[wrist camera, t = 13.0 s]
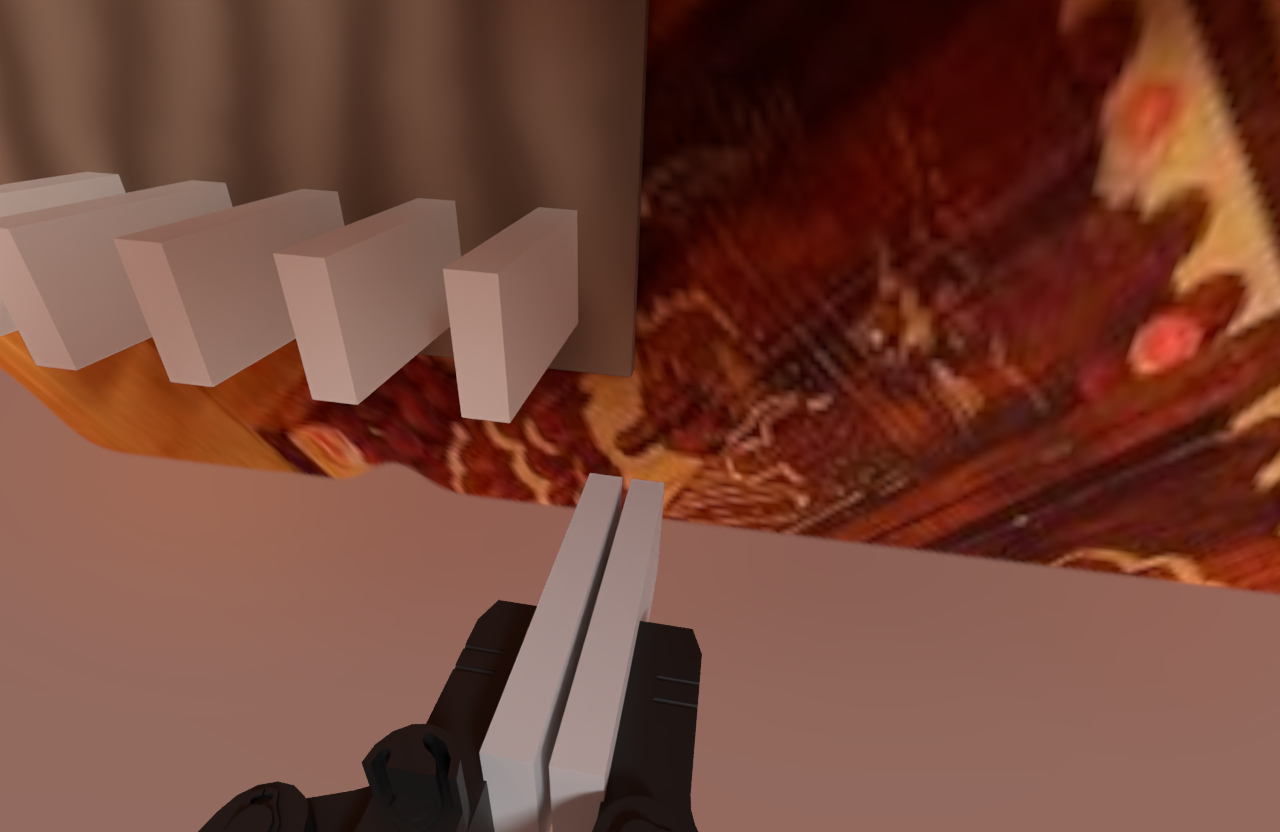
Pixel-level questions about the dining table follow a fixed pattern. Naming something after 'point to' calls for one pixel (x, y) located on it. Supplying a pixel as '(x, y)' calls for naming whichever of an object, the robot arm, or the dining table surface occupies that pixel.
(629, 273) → the walnut board
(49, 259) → the domino
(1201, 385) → the dining table surface
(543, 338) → the loose domino
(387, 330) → the domino
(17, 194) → the domino
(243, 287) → the domino
